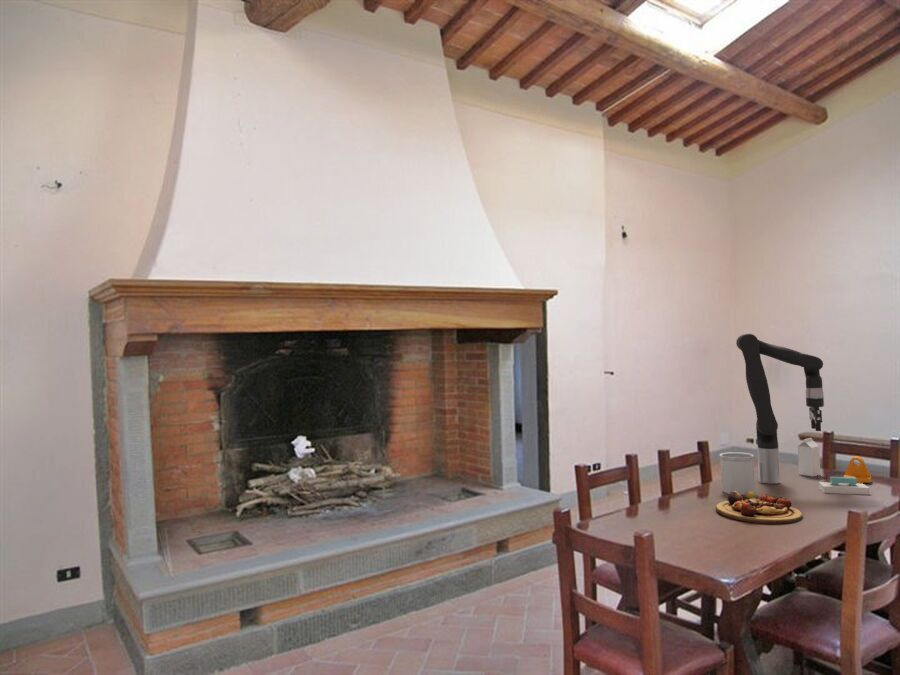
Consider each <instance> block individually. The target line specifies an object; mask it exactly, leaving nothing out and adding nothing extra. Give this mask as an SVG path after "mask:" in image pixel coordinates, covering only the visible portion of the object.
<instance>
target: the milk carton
mask: <svg viewBox="0 0 900 675" xmlns="http://www.w3.org/2000/svg"><path fill="white" fill-rule="evenodd" d="M797 457H798V458H797V459H798V460H797V462H798V475H800V476H805V477H817V475H818V476H820V475H821V466H820V465H821V464H820V446H819V445H818V444H817V443H816V441H814V440H813V437H809V438H805V439H803V440H802V441H801V443H800V444H799V445H798V446H797Z"/></svg>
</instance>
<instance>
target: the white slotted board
mask: <svg viewBox="0 0 900 675" xmlns="http://www.w3.org/2000/svg"><path fill="white" fill-rule="evenodd" d="M818 488H819V489H818V490H820V491H823V492H822V493H823V494H841V495H842V494H843V495H844V494H845V495H867V496H868V495H869V496H870V495H871V494H870V492H871V491H870V487H869V486H867V485H866V484H865V483H864V484H860V483H857V484H856V486H849V484H843V483H838V486H833V485H832V483H831V482H830V481H829V482H826V481H824V482H823V481H819V482H818Z"/></svg>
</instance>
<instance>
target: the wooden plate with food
mask: <svg viewBox="0 0 900 675" xmlns="http://www.w3.org/2000/svg"><path fill="white" fill-rule="evenodd" d="M775 497H776V496H775V495H774V496H772V495H771V496H769V495H768V493H767V494H766V493H764V494H762V495H761V496H760V499H759V496H758V494H757V493H755V492H752V491H749V492H746V493H745V494H744V495H740V494H739V493H737V492H736V491H732V492H731V493H730V494H728V495H727V500H725V501H721V502H719V503H717V504H716V505H715V510H716V512H717V513H718V514H720V515H722V516H724V517H727V518H729V519H733V520H737V521H741V522H747V523H755V524H765V525H766V524H767V525H768V524H769V525H785V524H792V523H797V522H800V521H801V520H802V519H803V513H802V512H801V511H800V510H799V509H797V508H795V507H792V501H791V500H790V499H789V498H783V497H782V496H779V497H777V498H775Z"/></svg>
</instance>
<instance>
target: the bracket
mask: <svg viewBox="0 0 900 675" xmlns="http://www.w3.org/2000/svg"><path fill="white" fill-rule="evenodd" d="M854 461H857V462H858V463H859V464H856V463H855V462H854ZM842 477H855V478H856V479H857V483H862V484H863V483H864V484H865V483H866V484H867V483H871V482H872V475H871V472H870V471H869V469H868V467H867V464H866V463H865V461H864V459H863V458H862V457H861V456H858V455H855V456H853V457H851V459H850V460H849V463H848V466H847V468H846V470H845V473H844V475H843V476H842Z"/></svg>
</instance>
